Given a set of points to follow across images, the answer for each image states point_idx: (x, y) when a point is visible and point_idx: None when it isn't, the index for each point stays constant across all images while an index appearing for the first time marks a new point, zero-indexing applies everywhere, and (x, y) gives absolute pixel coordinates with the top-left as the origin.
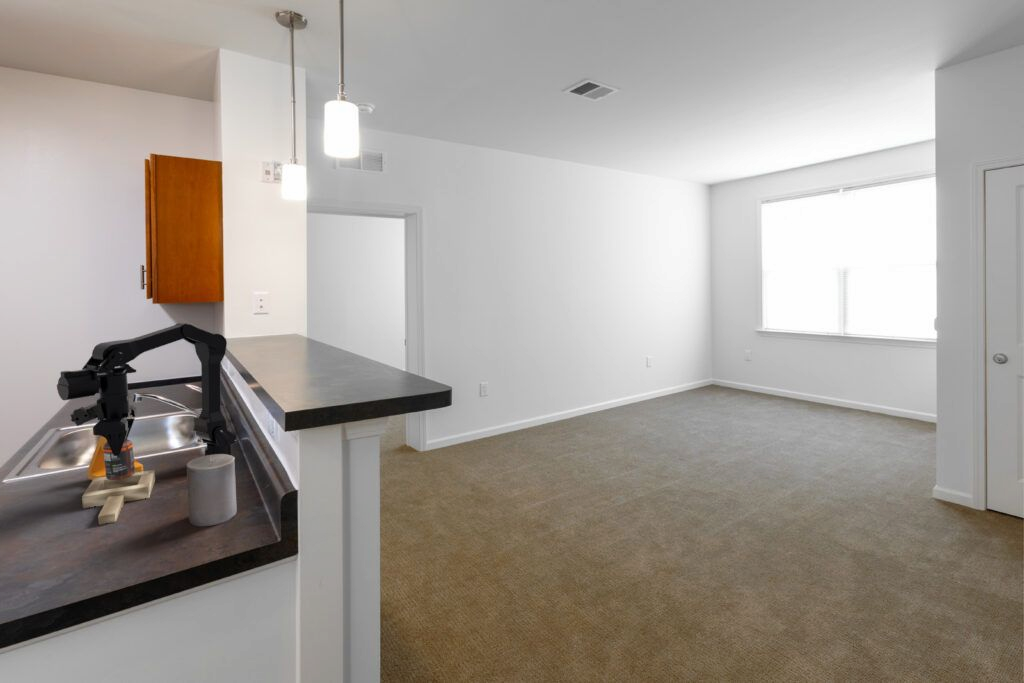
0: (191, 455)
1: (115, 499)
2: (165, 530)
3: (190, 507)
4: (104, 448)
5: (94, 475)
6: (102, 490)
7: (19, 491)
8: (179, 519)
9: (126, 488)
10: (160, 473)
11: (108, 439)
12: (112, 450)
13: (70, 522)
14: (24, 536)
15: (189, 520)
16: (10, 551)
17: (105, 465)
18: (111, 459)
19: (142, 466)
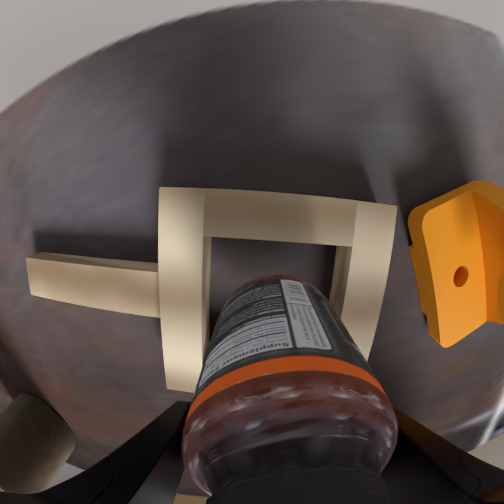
0: (471, 406)
1: (123, 295)
2: (8, 358)
3: (6, 409)
4: (235, 391)
5: (442, 203)
6: (198, 254)
7: (443, 30)
8: (39, 386)
9: (178, 333)
10: (400, 375)
11: (63, 495)
12: (147, 428)
13: (80, 176)
14: (56, 96)
15: (25, 395)
16: (9, 107)
17: (256, 305)
18: (203, 367)
19: (441, 345)
